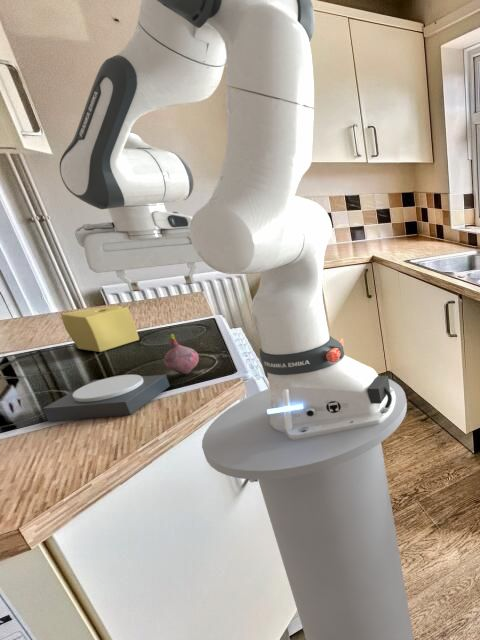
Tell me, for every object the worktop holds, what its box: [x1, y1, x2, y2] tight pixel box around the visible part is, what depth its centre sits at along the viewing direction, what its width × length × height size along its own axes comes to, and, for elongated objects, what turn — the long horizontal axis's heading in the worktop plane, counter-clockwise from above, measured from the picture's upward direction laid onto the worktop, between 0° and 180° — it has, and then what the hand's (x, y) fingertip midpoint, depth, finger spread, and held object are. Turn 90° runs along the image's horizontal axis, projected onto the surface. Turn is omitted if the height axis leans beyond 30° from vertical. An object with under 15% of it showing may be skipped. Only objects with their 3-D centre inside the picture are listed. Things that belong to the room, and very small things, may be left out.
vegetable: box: [163, 333, 200, 376], centre depth 94 cm, size 6×6×10 cm
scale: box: [42, 374, 171, 423], centre depth 84 cm, size 14×12×4 cm
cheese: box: [61, 305, 140, 353], centre depth 115 cm, size 10×11×10 cm
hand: (163, 287), depth 90 cm, fingers open, 8 cm apart
